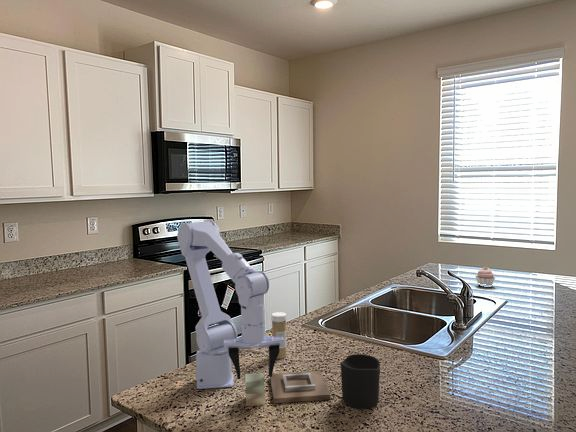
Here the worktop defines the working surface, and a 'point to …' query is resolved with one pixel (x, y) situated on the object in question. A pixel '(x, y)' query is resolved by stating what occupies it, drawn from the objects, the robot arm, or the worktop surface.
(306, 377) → the walnut board
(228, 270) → the robot arm
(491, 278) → the cupcake
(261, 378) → the block stack
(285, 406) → the worktop surface
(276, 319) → the sprinkles bottle
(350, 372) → the pen holder
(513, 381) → the worktop surface
